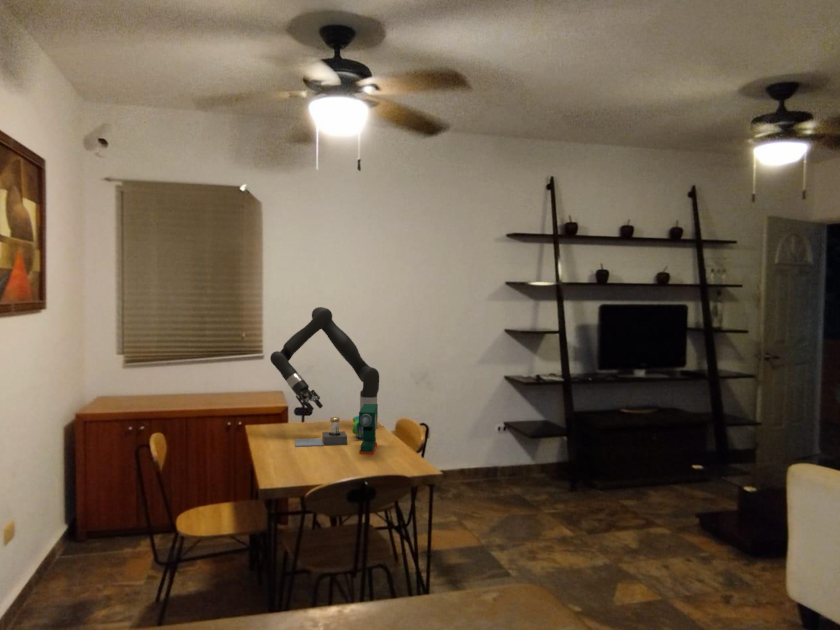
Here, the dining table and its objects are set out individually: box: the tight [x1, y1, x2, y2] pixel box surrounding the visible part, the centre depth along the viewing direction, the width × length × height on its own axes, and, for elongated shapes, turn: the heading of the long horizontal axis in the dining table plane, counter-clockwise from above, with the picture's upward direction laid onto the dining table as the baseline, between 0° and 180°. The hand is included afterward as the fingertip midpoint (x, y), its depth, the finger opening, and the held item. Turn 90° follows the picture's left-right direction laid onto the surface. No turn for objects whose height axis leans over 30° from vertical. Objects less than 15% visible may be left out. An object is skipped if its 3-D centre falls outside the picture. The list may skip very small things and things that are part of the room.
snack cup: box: [352, 415, 363, 440], centre depth 316 cm, size 16×10×10 cm
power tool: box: [358, 403, 379, 455], centre depth 286 cm, size 32×7×20 cm, turn 179°
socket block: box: [321, 431, 348, 446], centre depth 304 cm, size 11×11×4 cm
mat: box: [294, 437, 324, 448], centre depth 302 cm, size 13×13×1 cm
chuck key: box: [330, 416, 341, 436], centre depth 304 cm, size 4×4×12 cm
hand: (316, 408), depth 308 cm, fingers open, 8 cm apart
